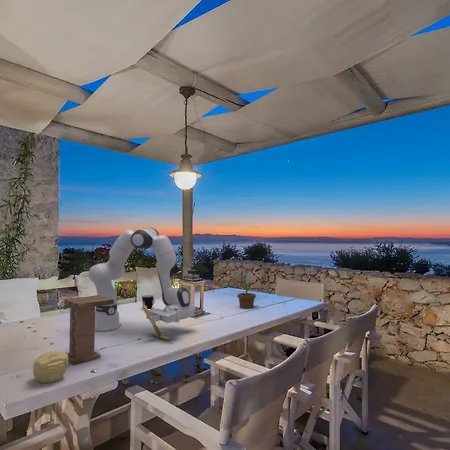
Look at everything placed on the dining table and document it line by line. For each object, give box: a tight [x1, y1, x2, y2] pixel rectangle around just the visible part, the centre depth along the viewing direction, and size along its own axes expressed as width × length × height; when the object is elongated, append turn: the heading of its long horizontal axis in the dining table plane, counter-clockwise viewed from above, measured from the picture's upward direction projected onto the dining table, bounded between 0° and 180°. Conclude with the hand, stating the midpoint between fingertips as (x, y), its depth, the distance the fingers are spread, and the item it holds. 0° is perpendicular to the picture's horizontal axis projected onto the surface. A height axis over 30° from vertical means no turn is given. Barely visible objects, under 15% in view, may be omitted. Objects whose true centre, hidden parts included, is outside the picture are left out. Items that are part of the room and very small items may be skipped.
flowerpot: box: [236, 269, 257, 310], centre depth 262 cm, size 14×14×30 cm
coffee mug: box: [141, 294, 156, 309], centre depth 252 cm, size 12×9×10 cm
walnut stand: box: [64, 294, 114, 366], centre depth 155 cm, size 16×17×26 cm
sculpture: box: [32, 349, 69, 384], centre depth 130 cm, size 11×12×11 cm
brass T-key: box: [142, 304, 170, 341], centre depth 180 cm, size 14×22×2 cm
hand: (148, 317), depth 178 cm, fingers closed on brass T-key, 2 cm apart
